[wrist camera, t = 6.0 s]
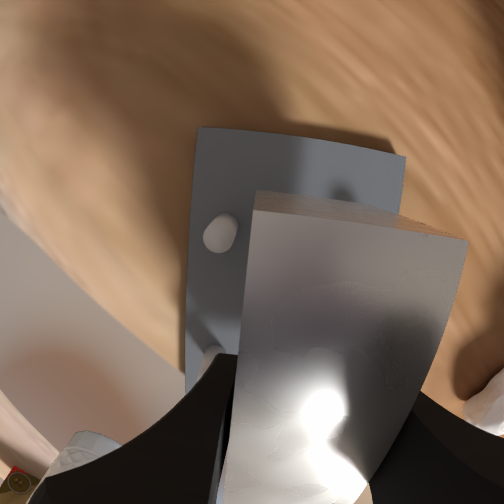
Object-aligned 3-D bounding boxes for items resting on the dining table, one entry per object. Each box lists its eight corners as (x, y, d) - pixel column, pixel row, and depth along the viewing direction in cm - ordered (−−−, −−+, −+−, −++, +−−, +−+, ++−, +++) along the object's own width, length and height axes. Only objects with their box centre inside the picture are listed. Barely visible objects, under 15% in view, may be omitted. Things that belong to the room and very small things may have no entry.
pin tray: (397, 157, 14) (431, 156, 11) (339, 408, 18) (349, 445, 15) (202, 129, 14) (185, 118, 11) (188, 397, 18) (177, 434, 15)
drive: (368, 204, 10) (469, 240, 5) (317, 419, 13) (337, 524, 7) (256, 189, 10) (252, 209, 5) (232, 414, 13) (220, 524, 7)
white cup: (61, 412, 20) (8, 492, 10) (145, 443, 20) (108, 543, 10) (76, 461, 22) (40, 530, 12) (148, 486, 22) (124, 566, 12)
